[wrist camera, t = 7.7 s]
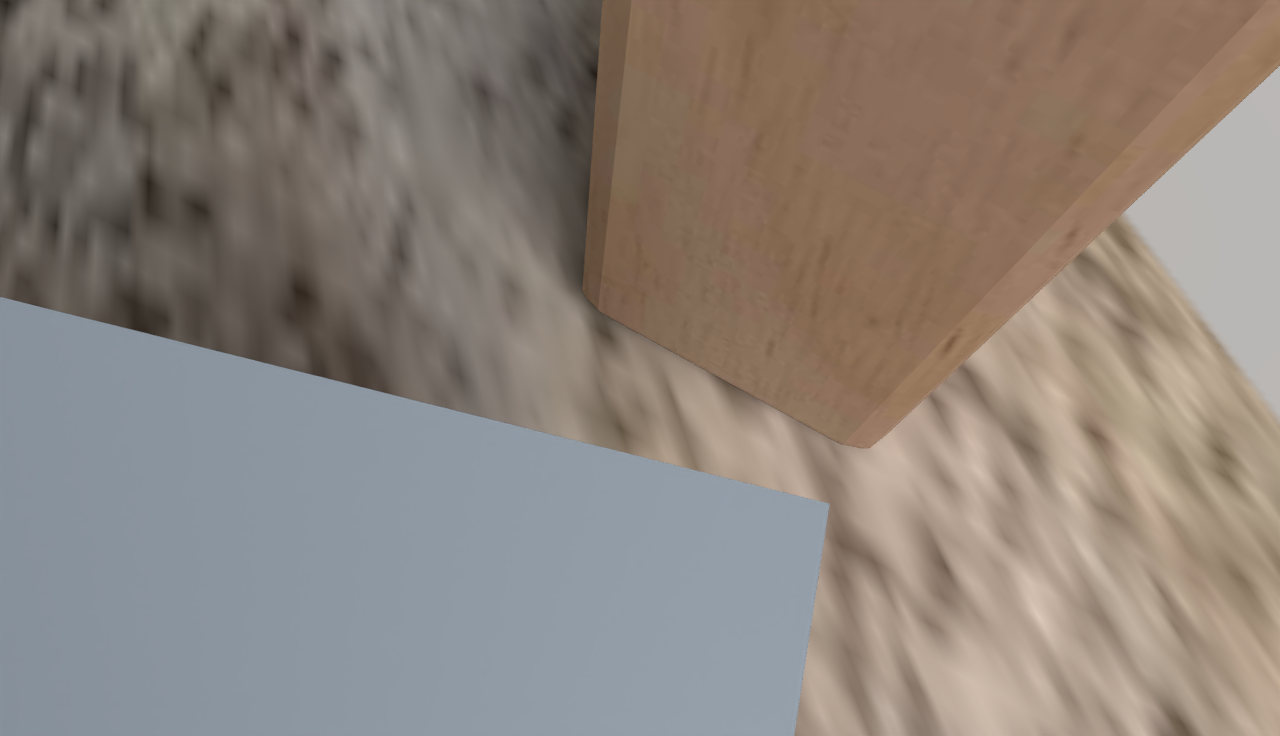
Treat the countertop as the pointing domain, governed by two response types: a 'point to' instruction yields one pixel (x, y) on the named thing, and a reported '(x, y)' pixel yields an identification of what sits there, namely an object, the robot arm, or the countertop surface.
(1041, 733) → the countertop surface
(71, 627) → the slate block
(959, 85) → the wooden block
